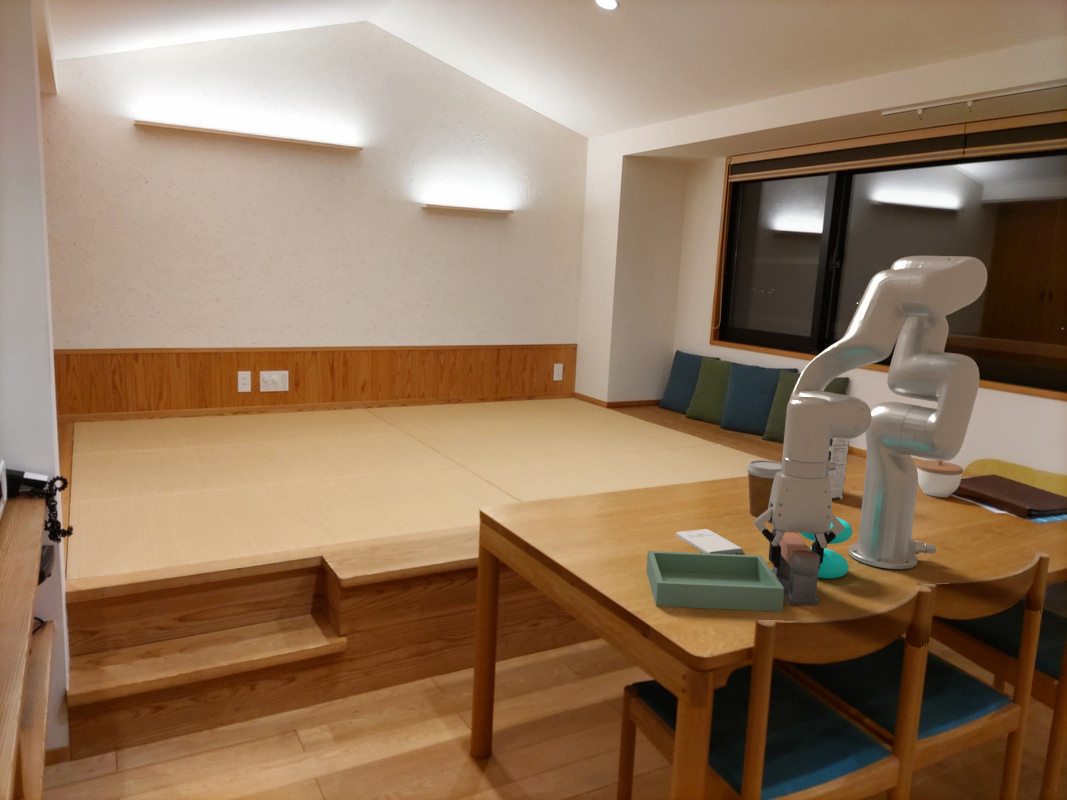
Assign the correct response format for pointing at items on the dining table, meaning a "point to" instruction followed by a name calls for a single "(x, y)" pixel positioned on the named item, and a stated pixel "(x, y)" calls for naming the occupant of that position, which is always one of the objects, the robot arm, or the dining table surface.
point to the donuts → (833, 554)
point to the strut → (799, 555)
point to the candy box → (838, 465)
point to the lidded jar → (938, 477)
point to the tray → (713, 581)
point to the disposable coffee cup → (761, 484)
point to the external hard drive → (709, 542)
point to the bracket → (796, 585)
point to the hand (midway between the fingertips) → (795, 565)
